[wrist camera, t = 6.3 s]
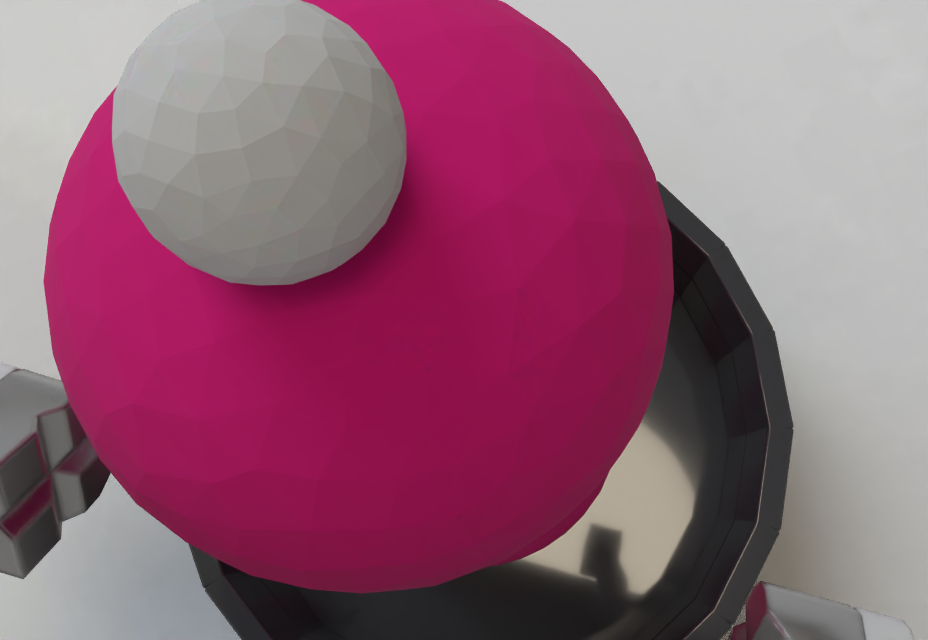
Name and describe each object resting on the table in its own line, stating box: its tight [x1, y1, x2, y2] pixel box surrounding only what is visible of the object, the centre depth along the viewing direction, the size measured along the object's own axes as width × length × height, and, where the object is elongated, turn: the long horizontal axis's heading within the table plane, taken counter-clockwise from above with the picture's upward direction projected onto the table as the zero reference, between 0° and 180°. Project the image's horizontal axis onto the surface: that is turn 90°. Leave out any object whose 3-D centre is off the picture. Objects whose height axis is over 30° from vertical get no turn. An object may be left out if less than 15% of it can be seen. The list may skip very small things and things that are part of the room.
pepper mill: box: [44, 0, 674, 593], centre depth 14 cm, size 7×7×20 cm
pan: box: [189, 181, 793, 640], centre depth 22 cm, size 15×15×4 cm
